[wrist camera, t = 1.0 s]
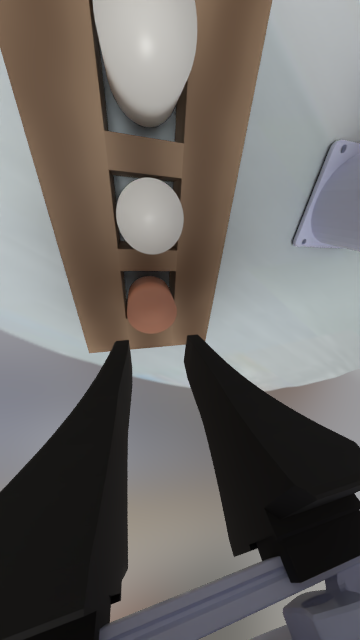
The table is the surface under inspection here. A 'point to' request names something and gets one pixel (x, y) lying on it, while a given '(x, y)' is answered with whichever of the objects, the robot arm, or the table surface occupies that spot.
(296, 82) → the table surface
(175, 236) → the grey plug middle
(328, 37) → the table surface
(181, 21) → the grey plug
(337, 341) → the table surface
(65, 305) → the table surface
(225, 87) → the walnut board
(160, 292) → the terracotta plug
